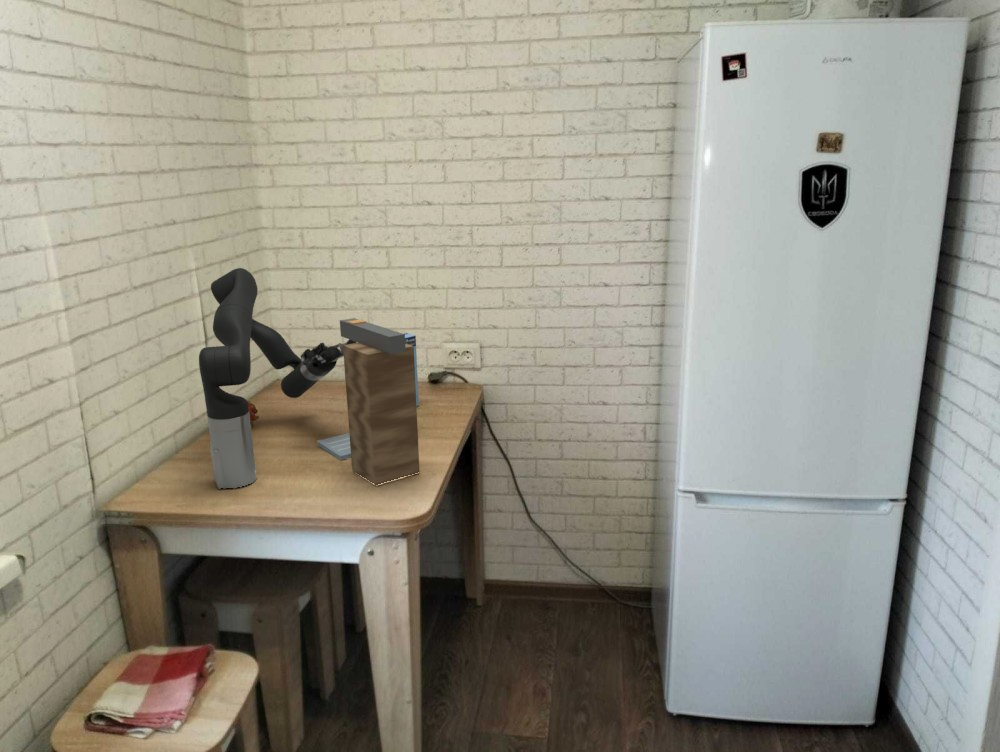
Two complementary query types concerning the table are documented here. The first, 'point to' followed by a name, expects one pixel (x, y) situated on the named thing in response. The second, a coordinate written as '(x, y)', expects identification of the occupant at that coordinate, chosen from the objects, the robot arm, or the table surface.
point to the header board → (337, 446)
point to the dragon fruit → (252, 413)
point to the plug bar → (373, 335)
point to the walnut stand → (381, 412)
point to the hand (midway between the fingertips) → (339, 343)
